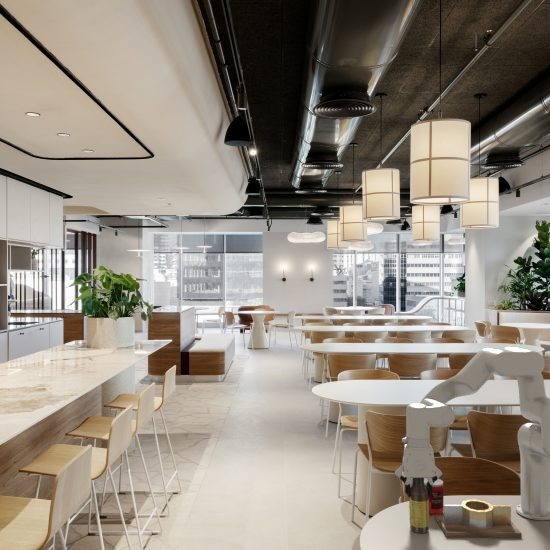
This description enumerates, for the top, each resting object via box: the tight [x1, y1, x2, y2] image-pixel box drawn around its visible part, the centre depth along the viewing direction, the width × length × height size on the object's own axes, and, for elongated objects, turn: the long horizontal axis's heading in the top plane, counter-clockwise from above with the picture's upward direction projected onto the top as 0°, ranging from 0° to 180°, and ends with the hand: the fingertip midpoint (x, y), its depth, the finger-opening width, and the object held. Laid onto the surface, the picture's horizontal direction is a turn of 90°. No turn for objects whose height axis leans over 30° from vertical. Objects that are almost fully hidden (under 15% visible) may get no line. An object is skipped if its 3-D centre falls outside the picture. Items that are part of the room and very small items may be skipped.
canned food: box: [424, 478, 444, 516], centre depth 208 cm, size 8×8×11 cm
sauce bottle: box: [408, 478, 430, 534], centre depth 193 cm, size 6×6×20 cm
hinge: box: [443, 499, 512, 530], centre depth 194 cm, size 10×22×6 cm, turn 88°
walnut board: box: [435, 513, 523, 539], centre depth 194 cm, size 14×24×2 cm, turn 88°
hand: (418, 495), depth 193 cm, fingers closed on sauce bottle, 6 cm apart
